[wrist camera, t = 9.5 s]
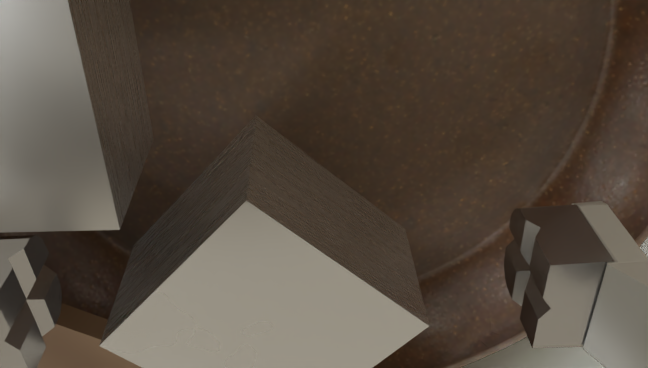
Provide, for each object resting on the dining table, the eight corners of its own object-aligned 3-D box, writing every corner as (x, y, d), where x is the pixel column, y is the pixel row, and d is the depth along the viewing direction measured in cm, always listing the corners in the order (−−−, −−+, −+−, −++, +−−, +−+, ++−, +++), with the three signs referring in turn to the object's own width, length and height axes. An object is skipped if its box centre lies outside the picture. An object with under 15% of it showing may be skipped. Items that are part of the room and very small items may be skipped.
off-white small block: (405, 229, 14) (429, 325, 12) (280, 332, 16) (278, 436, 13) (255, 115, 12) (246, 200, 10) (134, 244, 14) (99, 345, 12)
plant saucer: (443, -801, 8) (509, -1057, 6) (766, 126, 17) (851, 189, 14) (-256, -14, 13) (-385, 35, 11) (256, 393, 22) (251, 474, 19)
